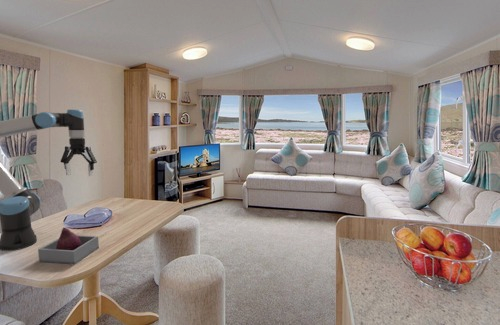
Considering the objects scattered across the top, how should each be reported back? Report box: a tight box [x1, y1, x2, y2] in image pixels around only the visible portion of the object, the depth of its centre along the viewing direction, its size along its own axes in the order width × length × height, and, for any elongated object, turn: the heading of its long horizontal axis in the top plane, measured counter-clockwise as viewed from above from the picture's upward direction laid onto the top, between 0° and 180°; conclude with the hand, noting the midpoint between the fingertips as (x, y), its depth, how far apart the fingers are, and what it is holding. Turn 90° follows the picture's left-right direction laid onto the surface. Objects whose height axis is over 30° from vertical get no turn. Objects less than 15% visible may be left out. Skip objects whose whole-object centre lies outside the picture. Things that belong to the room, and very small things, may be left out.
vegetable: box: [57, 226, 82, 250], centre depth 134 cm, size 10×10×15 cm
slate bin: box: [37, 234, 100, 266], centre depth 136 cm, size 17×17×6 cm
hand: (79, 175), depth 164 cm, fingers open, 13 cm apart
